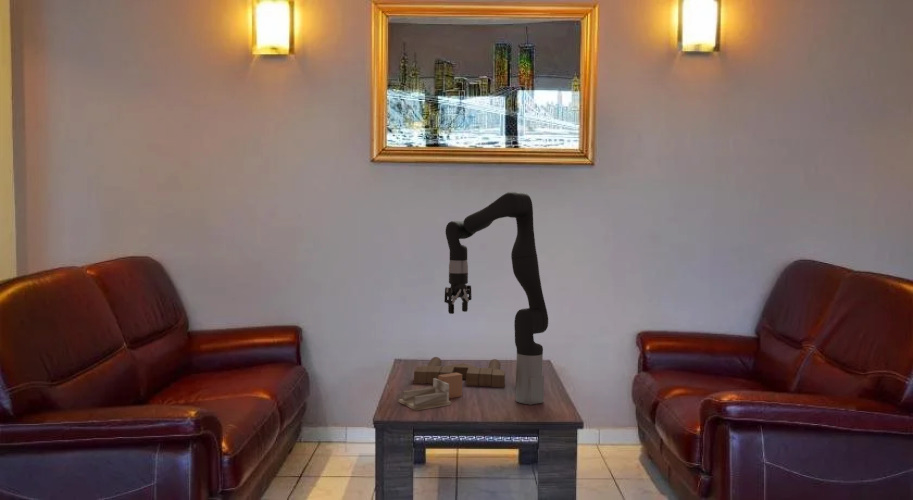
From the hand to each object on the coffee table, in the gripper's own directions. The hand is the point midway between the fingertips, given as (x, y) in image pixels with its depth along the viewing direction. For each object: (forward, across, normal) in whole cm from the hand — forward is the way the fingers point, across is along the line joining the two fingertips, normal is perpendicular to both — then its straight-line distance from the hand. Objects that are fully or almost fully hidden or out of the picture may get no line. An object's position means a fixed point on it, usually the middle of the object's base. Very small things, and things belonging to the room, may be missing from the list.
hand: (458, 312), depth 274 cm
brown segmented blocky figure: (+28, +6, +2) cm, 28 cm away
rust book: (+27, -21, -13) cm, 37 cm away
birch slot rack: (+27, -34, -12) cm, 45 cm away
